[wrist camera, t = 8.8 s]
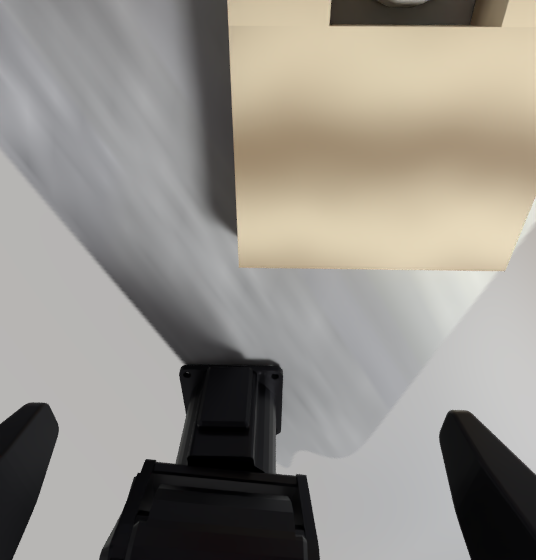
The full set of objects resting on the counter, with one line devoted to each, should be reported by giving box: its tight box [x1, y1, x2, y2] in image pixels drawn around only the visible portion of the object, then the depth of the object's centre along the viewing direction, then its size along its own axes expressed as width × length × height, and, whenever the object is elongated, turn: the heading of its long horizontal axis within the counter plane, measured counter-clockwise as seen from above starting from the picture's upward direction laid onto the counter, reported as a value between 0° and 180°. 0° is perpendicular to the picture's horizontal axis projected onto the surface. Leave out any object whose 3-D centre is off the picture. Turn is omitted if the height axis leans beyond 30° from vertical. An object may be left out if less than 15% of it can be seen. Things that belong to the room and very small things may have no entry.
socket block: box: [227, 0, 536, 271], centre depth 14 cm, size 18×12×2 cm, turn 0°
